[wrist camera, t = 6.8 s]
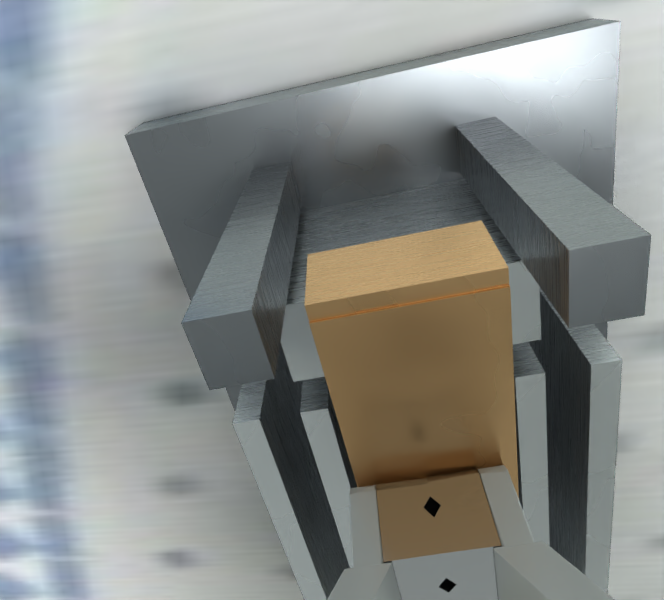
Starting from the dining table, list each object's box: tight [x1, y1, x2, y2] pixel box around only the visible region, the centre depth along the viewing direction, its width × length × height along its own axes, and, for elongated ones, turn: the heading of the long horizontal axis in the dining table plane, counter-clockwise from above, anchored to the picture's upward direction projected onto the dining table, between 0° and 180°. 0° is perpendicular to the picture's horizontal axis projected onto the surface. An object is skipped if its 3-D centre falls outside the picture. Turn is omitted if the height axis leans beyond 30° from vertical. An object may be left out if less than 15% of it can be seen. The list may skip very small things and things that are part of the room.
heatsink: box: [125, 19, 651, 600], centre depth 15 cm, size 21×12×9 cm, turn 12°
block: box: [304, 220, 519, 498], centre depth 13 cm, size 17×3×2 cm, turn 12°
